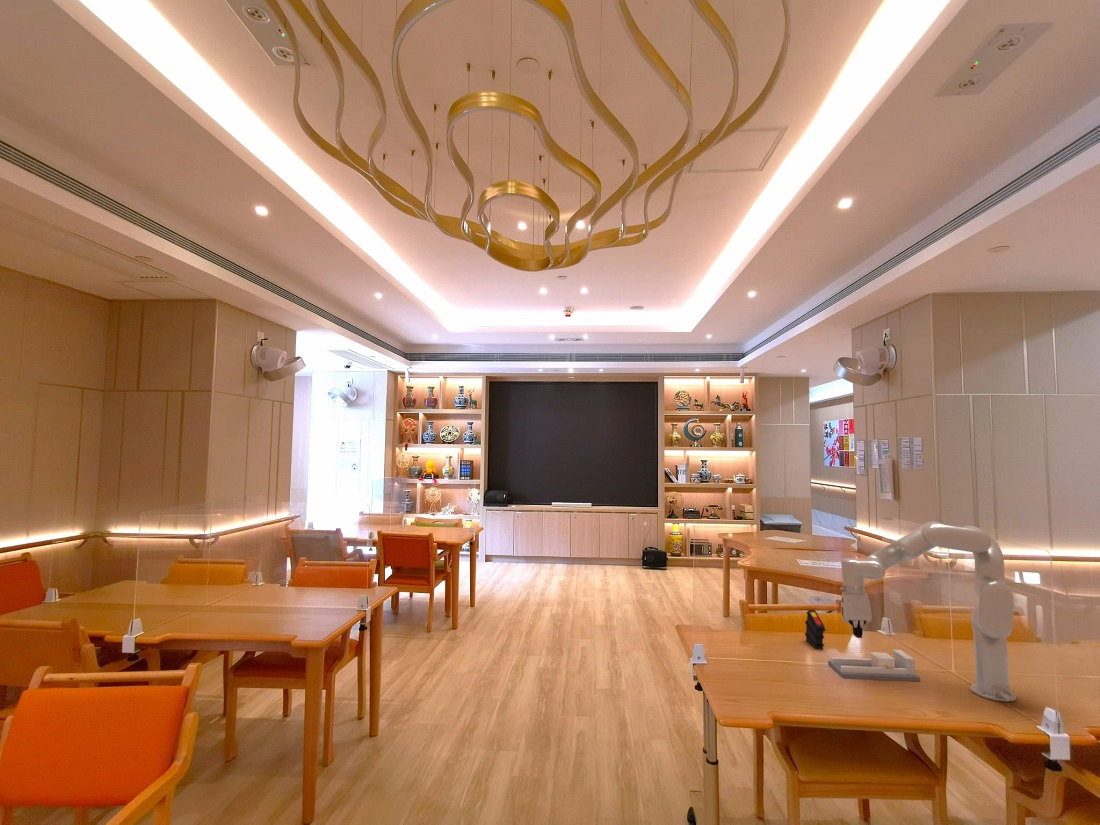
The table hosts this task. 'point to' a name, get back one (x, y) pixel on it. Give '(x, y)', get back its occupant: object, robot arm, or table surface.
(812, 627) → the black ridged block
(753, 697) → the table surface
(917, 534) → the robot arm
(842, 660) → the board
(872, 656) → the block
